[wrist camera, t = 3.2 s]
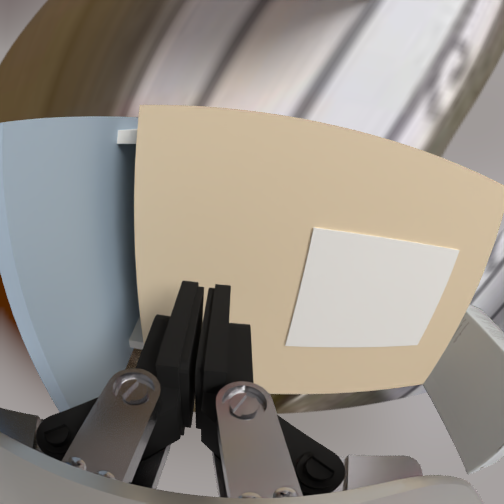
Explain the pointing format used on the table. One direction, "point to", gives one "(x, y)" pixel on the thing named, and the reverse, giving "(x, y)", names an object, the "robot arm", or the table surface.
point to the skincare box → (472, 390)
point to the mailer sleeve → (311, 242)
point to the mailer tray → (71, 248)
